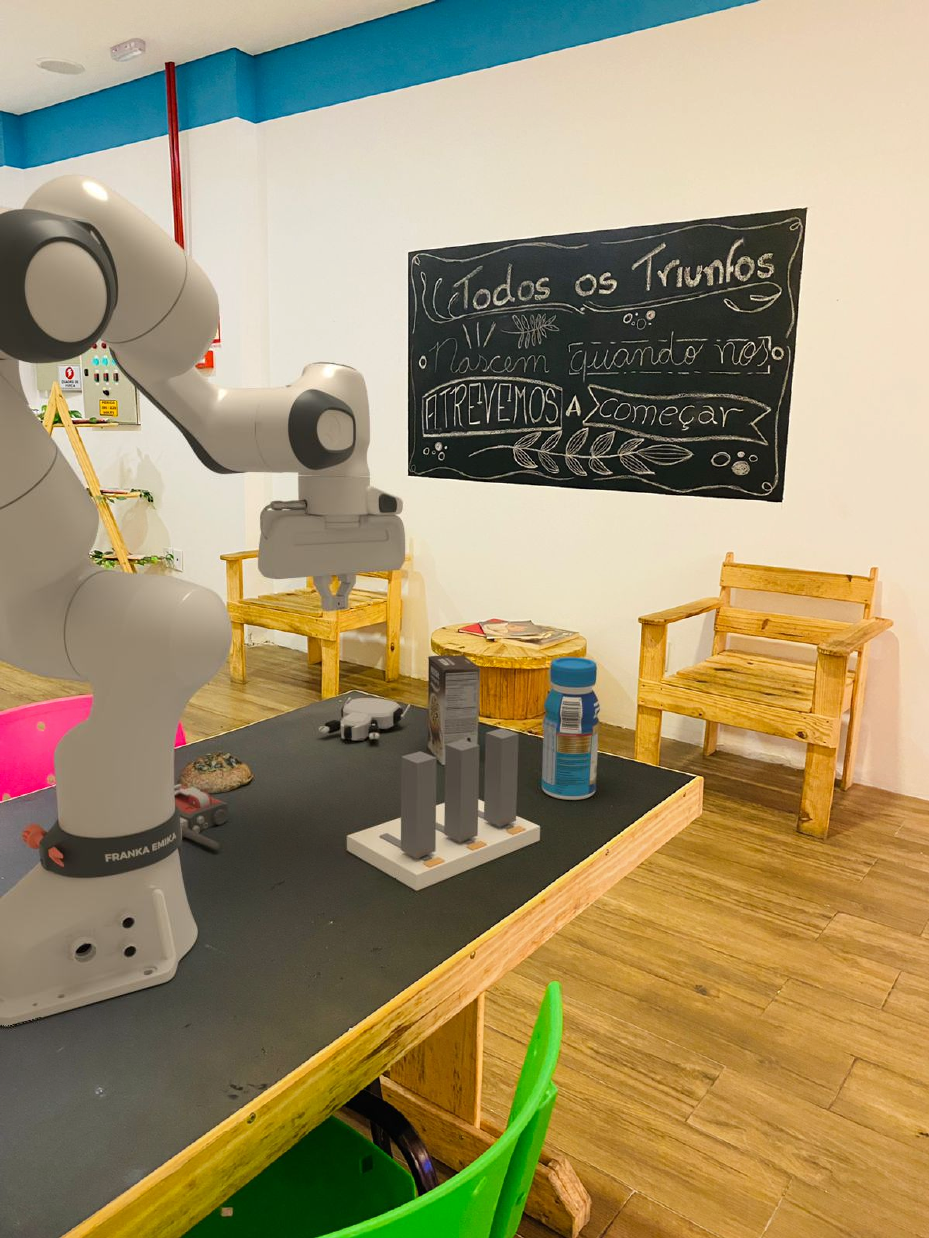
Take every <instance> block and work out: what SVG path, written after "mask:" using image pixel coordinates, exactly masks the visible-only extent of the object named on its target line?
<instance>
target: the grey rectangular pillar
mask: <svg viewBox="0 0 929 1238" xmlns="http://www.w3.org/2000/svg"><path fill="white" fill-rule="evenodd" d="M480 747H481V745H480V744H478V745H477V744H474V743H472V742H469V741H466V740H464V739H463V740H459V741H456V742H452V743H449V744H445V765H444V803H445V816H444V835H446V836H449V837H451V838H453V839H455V840H457V841H459V842H462V841H465V840H467V839H470V838H473V837H475V836H478V799H479V792H480V791H479V789H480V787H479V786H480V785H479V783H480V782H479V781H480V780H479V779H480Z"/></svg>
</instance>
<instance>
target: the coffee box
mask: <svg viewBox="0 0 929 1238" xmlns="http://www.w3.org/2000/svg"><path fill="white" fill-rule="evenodd" d="M427 659H428V666H427V667H428V669H427V670H428V681H427V682H428V683H427V684H428V689H427V691H428V692H427V693H428V697H427V698H428V700H427V701H428V702H427V703H428V704H427V705H428V707H427V709H428V712H427V714H428V715H427V717H428V718H427V722H428V725H427V727H428V728H427V747H428V749H429V750H430V752H431V753H432V754H433V755H434V757H436V758H437V760H438V762H439V763H440V765H442V766H445V744H449V743H452V742H456V741H459V740H463V739H464V740H466V741H469V742H472V743H474V744H477V745H479V723H480V721H479V717H480V686H481V685H480V684H481V667H480V666H478V665H477V664H476V663H474V662H473V661H472V660H471V659H469V658H468V657H467V656H465V655H464V654H457V655H455V654H454V655H452V654H451V655H450V654H449V655H448V654H447V655H446V654H444V655H430V656H429V655H428V657H427Z"/></svg>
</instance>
